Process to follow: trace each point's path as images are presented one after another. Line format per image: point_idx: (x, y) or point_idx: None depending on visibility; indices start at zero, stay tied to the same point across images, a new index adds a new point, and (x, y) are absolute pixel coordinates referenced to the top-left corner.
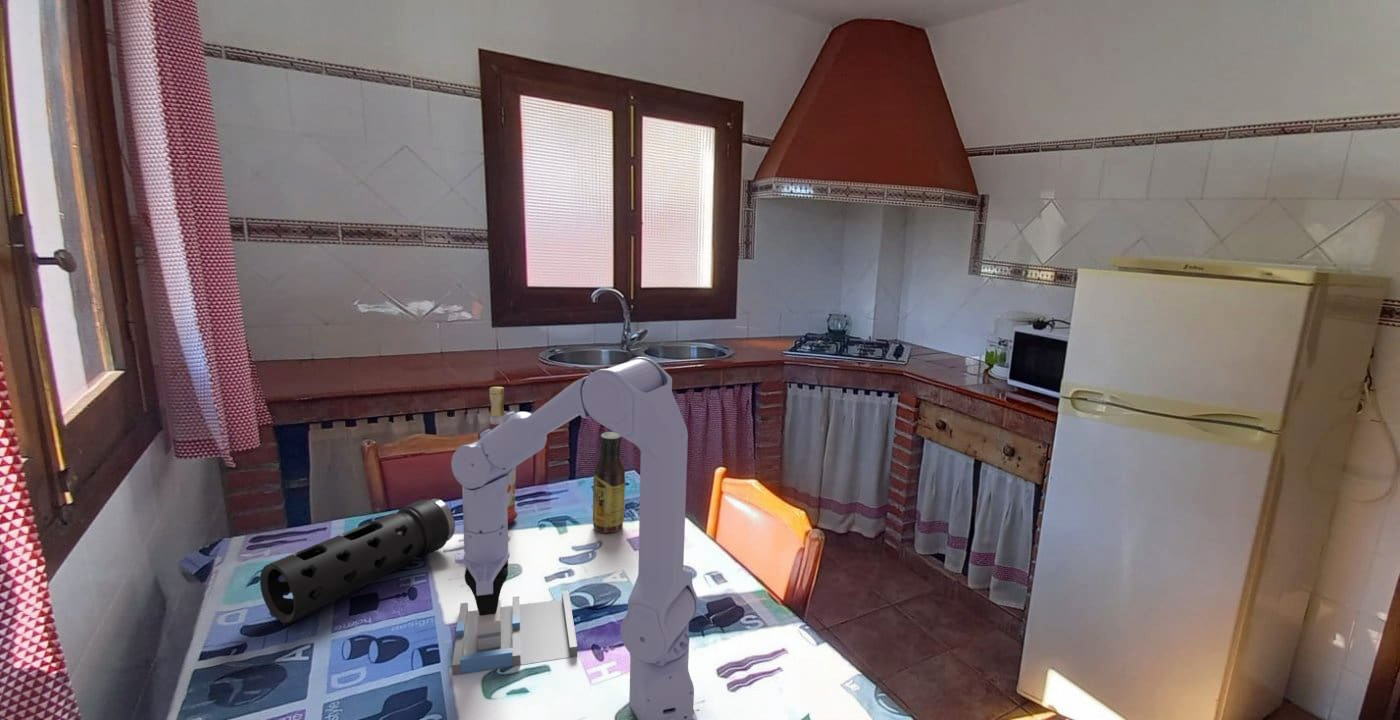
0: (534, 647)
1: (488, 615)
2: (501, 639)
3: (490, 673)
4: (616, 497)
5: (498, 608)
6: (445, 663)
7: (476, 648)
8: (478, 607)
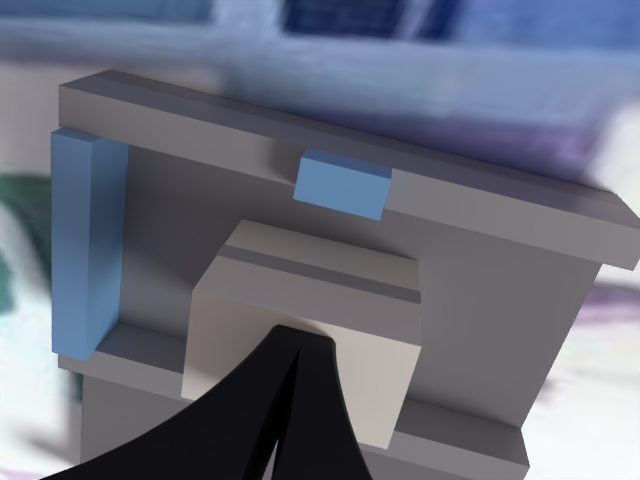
0: (173, 408)
1: None
2: None
3: None
4: None
5: None
6: (260, 56)
7: (257, 214)
8: (253, 354)
